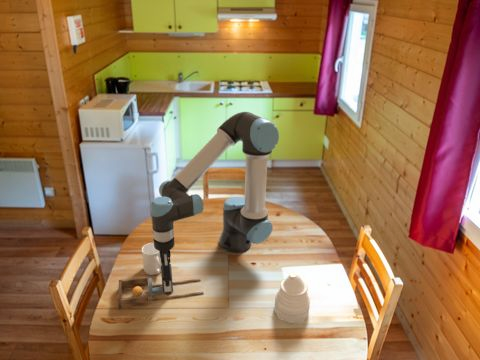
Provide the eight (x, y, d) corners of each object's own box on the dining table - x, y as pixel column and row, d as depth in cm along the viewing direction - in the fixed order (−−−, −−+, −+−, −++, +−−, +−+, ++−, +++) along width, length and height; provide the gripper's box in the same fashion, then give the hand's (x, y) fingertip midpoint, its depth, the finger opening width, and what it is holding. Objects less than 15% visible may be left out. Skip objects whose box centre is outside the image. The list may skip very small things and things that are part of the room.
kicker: (172, 285, 160) (170, 260, 154) (173, 295, 154) (171, 270, 149) (149, 288, 158) (146, 263, 153) (149, 298, 152) (147, 273, 147)
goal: (148, 284, 160) (147, 276, 159) (149, 304, 150) (148, 296, 148) (120, 288, 158) (118, 280, 156) (118, 309, 147) (117, 301, 146)
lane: (200, 279, 163) (200, 278, 163) (203, 293, 156) (203, 292, 156) (148, 286, 159) (148, 285, 159) (148, 301, 151) (148, 300, 151)
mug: (150, 282, 161) (148, 261, 157) (140, 266, 170) (138, 246, 166) (170, 275, 165) (168, 254, 161) (160, 260, 174) (158, 240, 170)
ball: (129, 288, 154) (137, 293, 156) (129, 295, 151) (137, 300, 153) (137, 282, 154) (144, 288, 156) (137, 289, 150) (145, 294, 152)
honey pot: (300, 328, 141) (304, 288, 133) (268, 313, 147) (270, 275, 139) (314, 306, 151) (318, 268, 143) (283, 293, 157) (286, 256, 149)
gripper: (152, 226, 152) (156, 274, 162) (154, 251, 137) (159, 303, 147) (172, 224, 154) (175, 272, 164) (176, 249, 139) (179, 300, 149)
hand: (167, 286), depth 156 cm, fingers closed on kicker, 4 cm apart
